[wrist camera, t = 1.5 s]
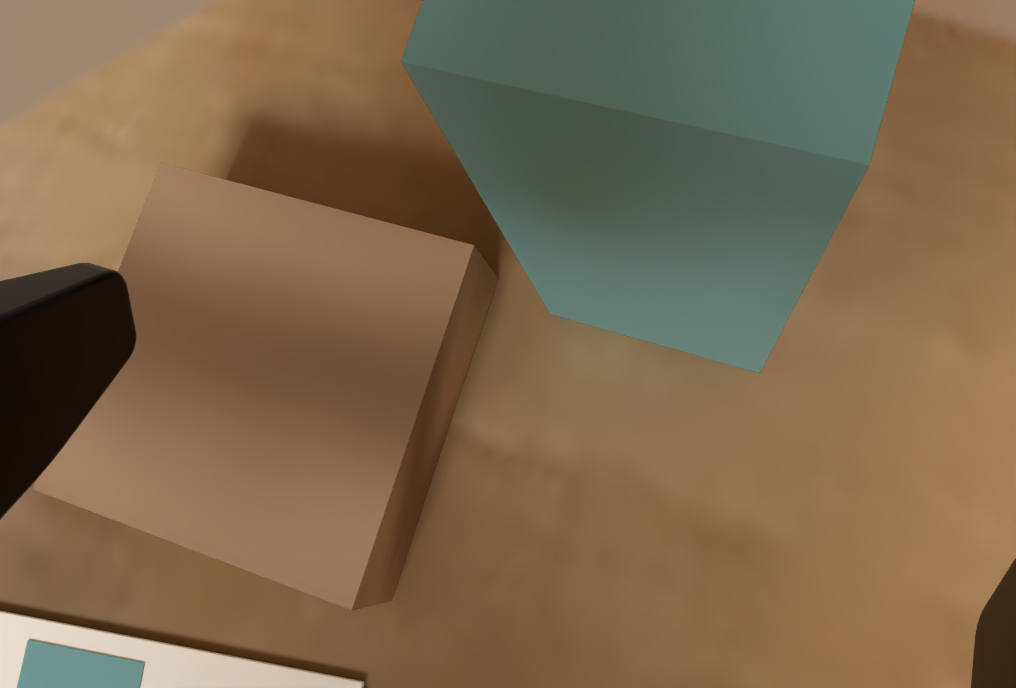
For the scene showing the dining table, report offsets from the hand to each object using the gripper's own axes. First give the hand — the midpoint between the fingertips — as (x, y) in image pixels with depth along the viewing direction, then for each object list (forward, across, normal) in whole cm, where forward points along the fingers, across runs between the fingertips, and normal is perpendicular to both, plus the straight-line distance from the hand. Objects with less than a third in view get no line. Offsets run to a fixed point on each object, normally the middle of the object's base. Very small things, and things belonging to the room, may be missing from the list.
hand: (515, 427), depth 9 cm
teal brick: (+13, 0, +4) cm, 14 cm away
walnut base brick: (+9, +8, +9) cm, 15 cm away
